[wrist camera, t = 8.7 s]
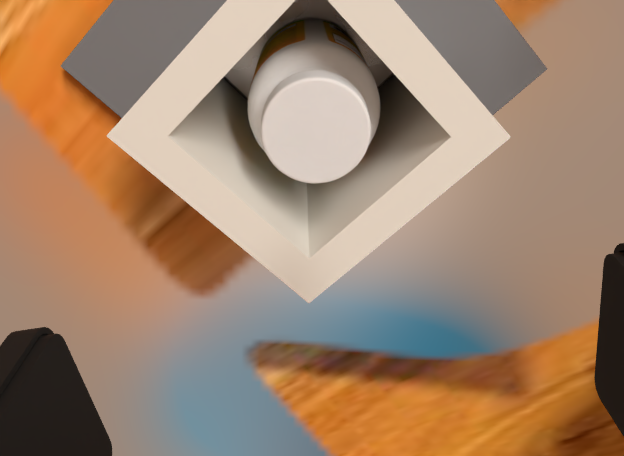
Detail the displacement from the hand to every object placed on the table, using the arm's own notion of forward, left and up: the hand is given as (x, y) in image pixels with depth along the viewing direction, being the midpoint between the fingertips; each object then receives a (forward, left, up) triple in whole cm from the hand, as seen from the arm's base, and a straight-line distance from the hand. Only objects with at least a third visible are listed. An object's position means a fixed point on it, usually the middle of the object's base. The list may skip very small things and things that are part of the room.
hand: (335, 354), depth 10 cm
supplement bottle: (0, 0, -22) cm, 22 cm away
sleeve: (0, 0, -24) cm, 24 cm away
